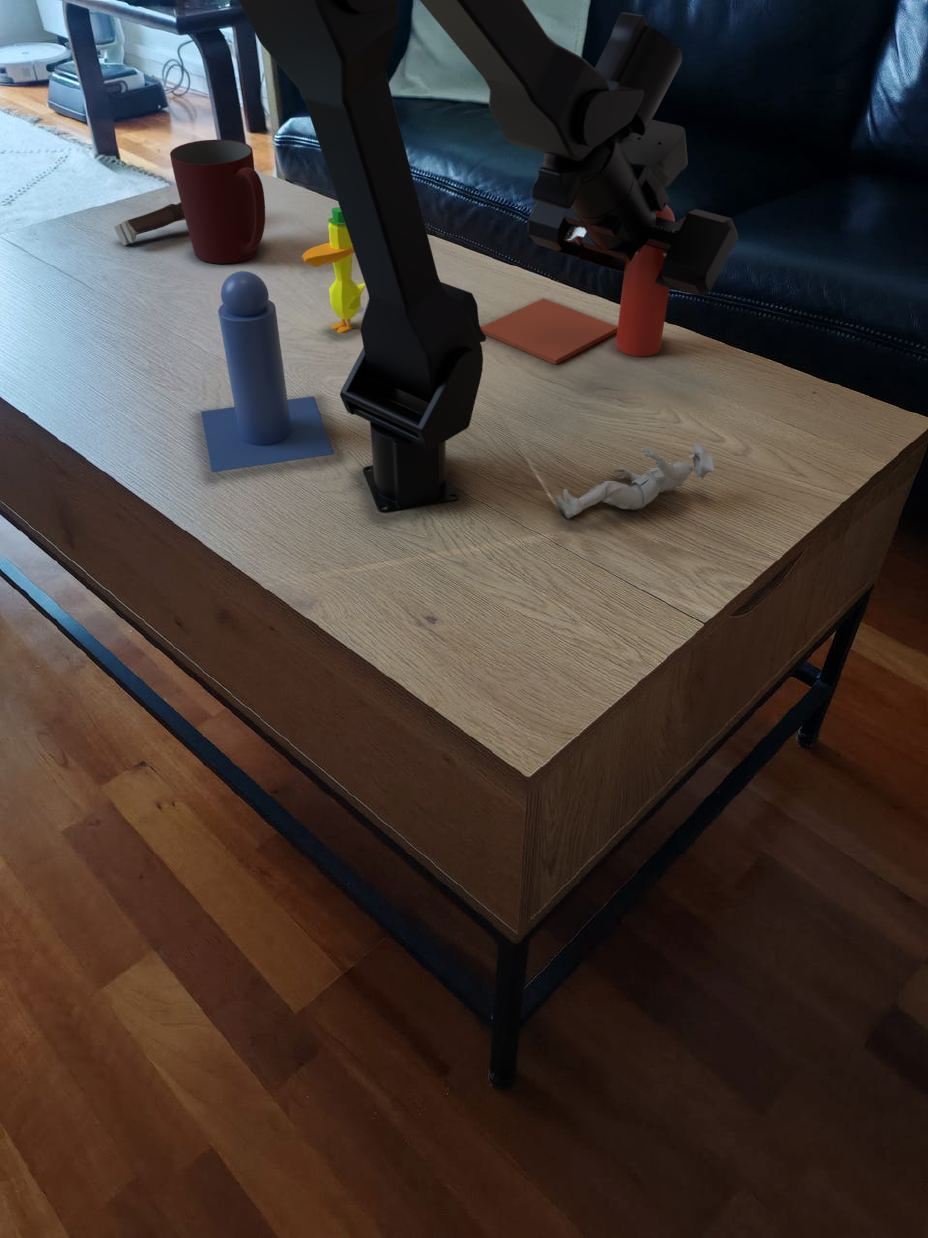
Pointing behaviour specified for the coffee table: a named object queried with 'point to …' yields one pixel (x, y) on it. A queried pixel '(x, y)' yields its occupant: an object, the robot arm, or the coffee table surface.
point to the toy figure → (338, 270)
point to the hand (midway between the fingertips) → (654, 276)
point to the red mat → (549, 330)
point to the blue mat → (237, 453)
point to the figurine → (149, 222)
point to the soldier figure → (639, 483)
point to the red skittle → (643, 301)
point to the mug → (220, 199)
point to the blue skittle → (254, 359)
